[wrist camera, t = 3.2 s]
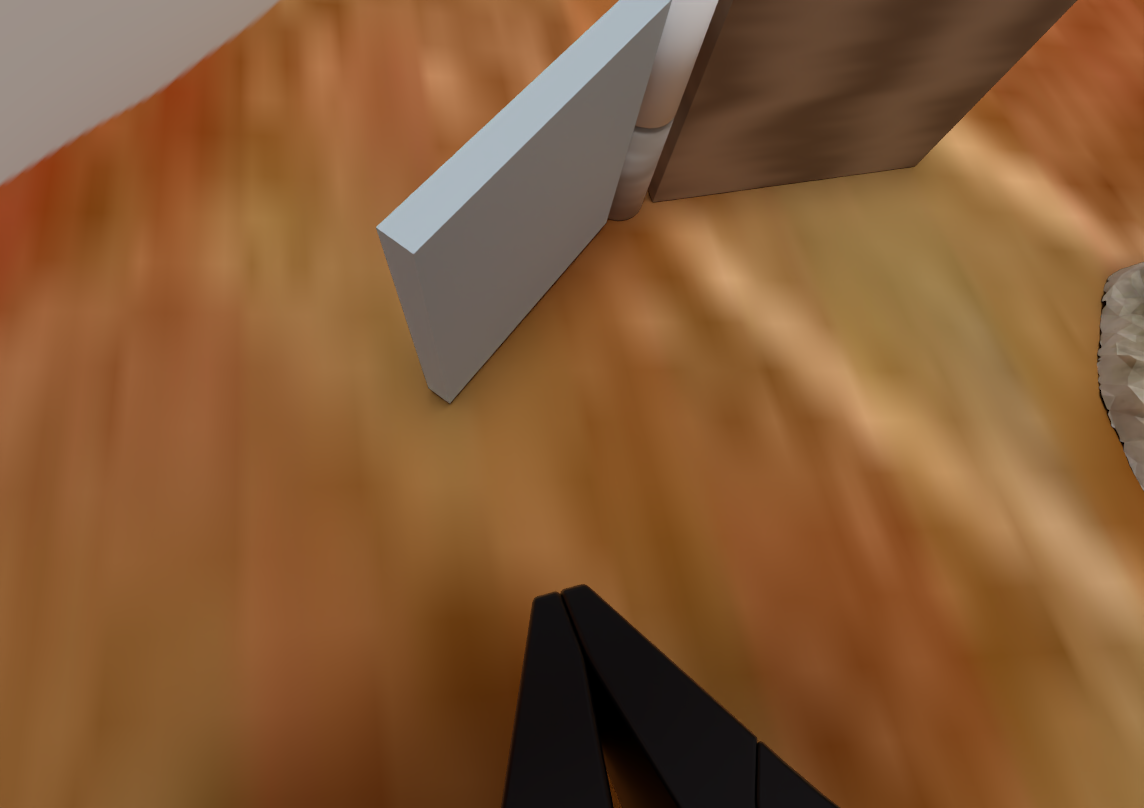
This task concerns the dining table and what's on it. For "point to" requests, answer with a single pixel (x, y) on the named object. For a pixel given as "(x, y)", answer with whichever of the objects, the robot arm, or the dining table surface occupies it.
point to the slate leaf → (534, 185)
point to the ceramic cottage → (1124, 361)
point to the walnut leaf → (825, 91)
